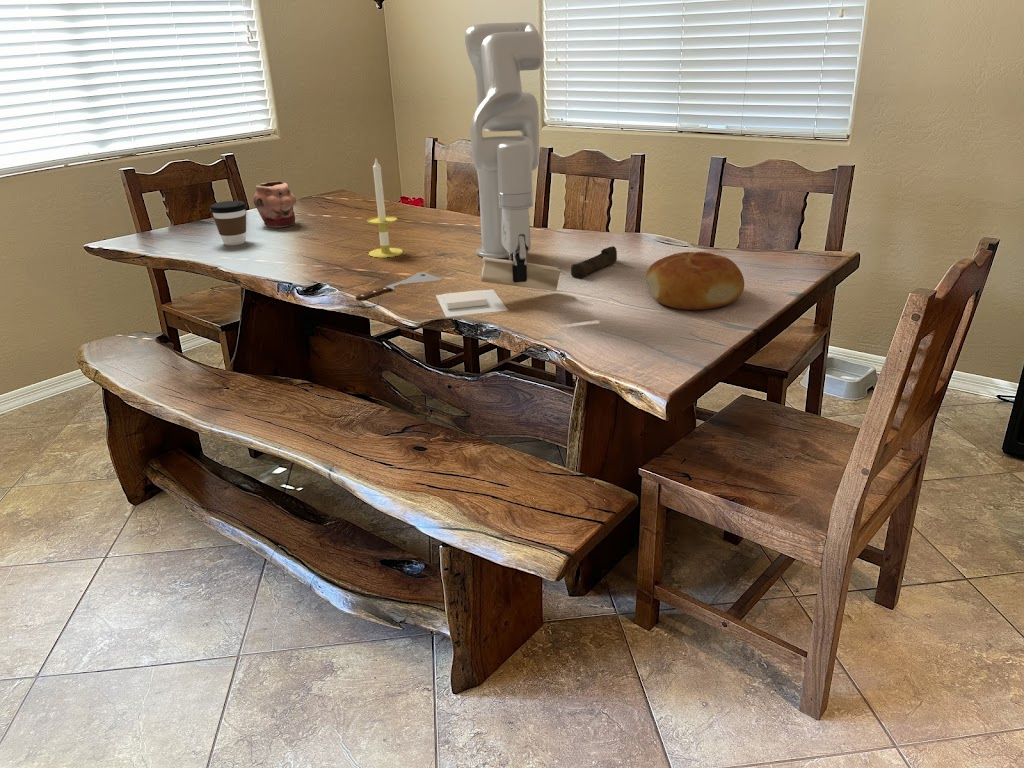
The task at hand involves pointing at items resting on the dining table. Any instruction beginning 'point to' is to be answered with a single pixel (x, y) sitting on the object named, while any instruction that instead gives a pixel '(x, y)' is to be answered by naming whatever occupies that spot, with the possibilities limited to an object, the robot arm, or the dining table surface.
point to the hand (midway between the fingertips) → (518, 278)
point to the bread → (695, 281)
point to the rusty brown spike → (594, 263)
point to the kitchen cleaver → (416, 278)
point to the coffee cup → (230, 221)
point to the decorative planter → (275, 204)
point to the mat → (492, 306)
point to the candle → (382, 219)
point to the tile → (464, 299)
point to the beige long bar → (503, 274)
